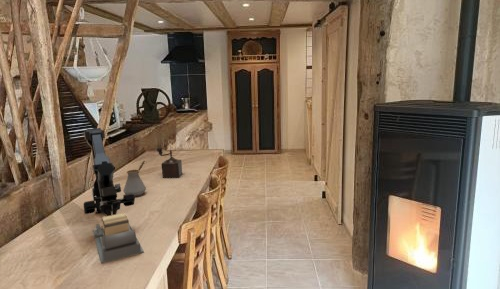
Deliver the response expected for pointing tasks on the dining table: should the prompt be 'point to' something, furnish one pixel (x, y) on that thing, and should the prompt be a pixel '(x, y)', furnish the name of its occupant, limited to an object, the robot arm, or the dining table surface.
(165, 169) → the manual coffee grinder
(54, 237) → the dining table surface
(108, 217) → the crate
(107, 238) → the bay
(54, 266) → the dining table surface
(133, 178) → the coffee pot
